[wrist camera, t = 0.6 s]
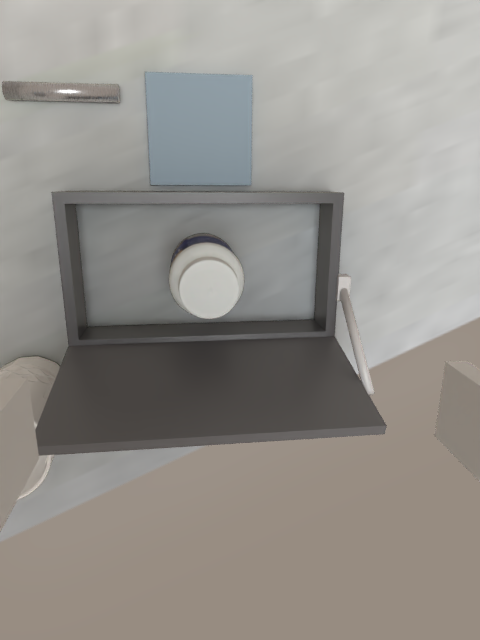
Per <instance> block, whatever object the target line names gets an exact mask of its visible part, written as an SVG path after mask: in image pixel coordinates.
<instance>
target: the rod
mask: <svg viewBox="0 0 480 640" xmlns="http://www.w3.org/2000/svg"><path fill="white" fill-rule="evenodd" d="M2 91H3V95H4V97H5V99H6V100H36V101H78V102H120V91H119V85H118V84H84V83H49V82H14V81H3V82H2Z"/></svg>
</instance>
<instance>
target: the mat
mask: <svg viewBox="0 0 480 640" xmlns="http://www.w3.org/2000/svg"><path fill="white" fill-rule="evenodd" d="M145 81H146V101H147V121H148V141H149V161H150V181H151V185H251V157H252V75H227V74H196V73H164V72H145Z"/></svg>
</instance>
